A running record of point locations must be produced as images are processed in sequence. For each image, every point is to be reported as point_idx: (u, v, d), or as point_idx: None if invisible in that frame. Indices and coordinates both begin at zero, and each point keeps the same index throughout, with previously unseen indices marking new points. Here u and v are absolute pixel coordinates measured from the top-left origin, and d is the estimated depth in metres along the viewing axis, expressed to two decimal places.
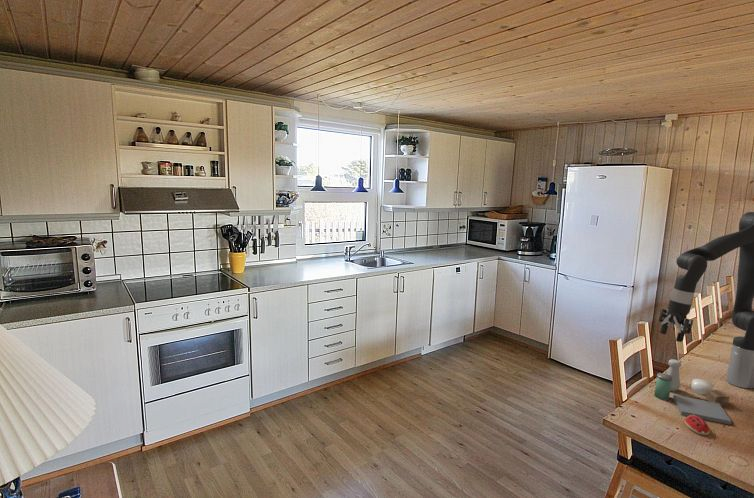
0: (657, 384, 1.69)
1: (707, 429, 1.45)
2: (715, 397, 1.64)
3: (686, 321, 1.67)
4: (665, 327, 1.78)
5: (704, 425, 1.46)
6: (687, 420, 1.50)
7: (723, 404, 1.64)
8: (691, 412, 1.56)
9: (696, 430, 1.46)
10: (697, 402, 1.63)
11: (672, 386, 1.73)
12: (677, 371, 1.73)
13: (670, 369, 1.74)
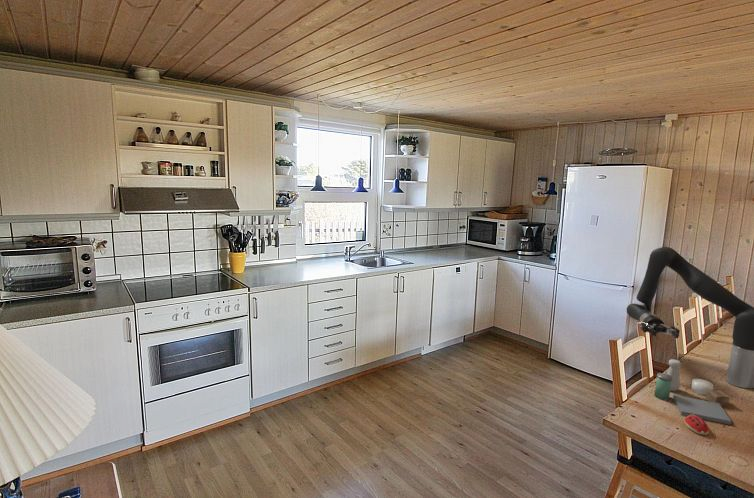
0: (657, 384, 1.69)
1: (707, 429, 1.45)
2: (715, 397, 1.64)
3: None
4: (673, 333, 1.85)
5: (704, 425, 1.46)
6: (687, 420, 1.50)
7: (723, 404, 1.64)
8: (691, 412, 1.56)
9: (695, 429, 1.46)
10: (697, 402, 1.63)
11: (672, 386, 1.73)
12: (677, 371, 1.73)
13: (670, 369, 1.74)
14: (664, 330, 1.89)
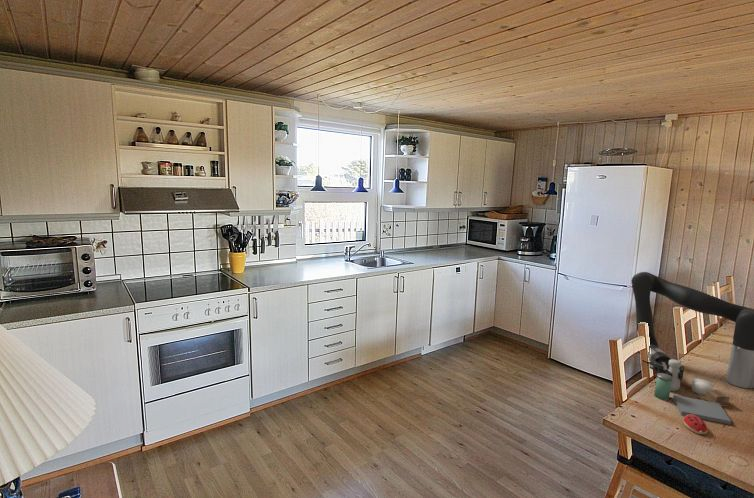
0: (657, 384, 1.69)
1: (705, 428, 1.45)
2: (715, 397, 1.64)
3: (651, 368, 1.82)
4: None
5: (702, 424, 1.46)
6: (685, 419, 1.51)
7: (723, 404, 1.64)
8: (691, 412, 1.56)
9: (693, 429, 1.46)
10: (697, 402, 1.63)
11: (672, 386, 1.73)
12: (677, 371, 1.73)
13: (670, 369, 1.74)
14: None
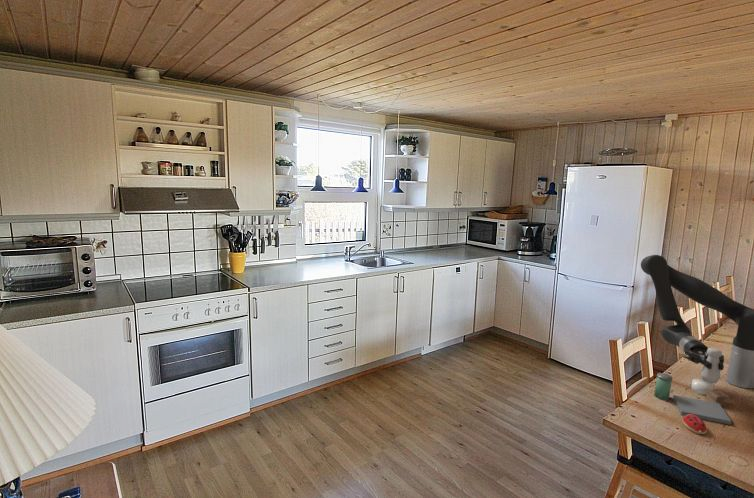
0: (657, 384, 1.69)
1: (704, 428, 1.46)
2: (715, 397, 1.64)
3: (686, 358, 1.63)
4: None
5: (701, 424, 1.46)
6: (685, 419, 1.51)
7: (723, 404, 1.64)
8: (691, 412, 1.56)
9: (693, 429, 1.46)
10: (697, 402, 1.63)
11: (711, 377, 1.55)
12: (717, 361, 1.54)
13: (709, 358, 1.55)
14: None
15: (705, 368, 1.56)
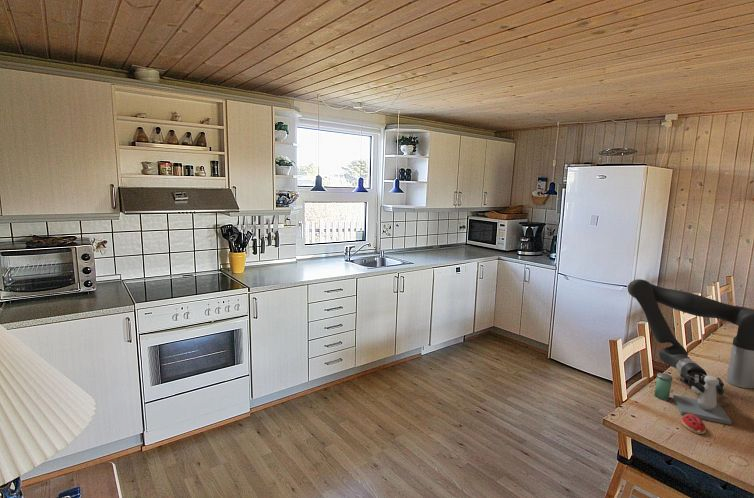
0: (657, 384, 1.69)
1: (703, 428, 1.46)
2: None
3: None
4: (716, 388, 1.57)
5: (700, 424, 1.46)
6: (684, 419, 1.51)
7: (723, 404, 1.64)
8: (691, 412, 1.56)
9: (692, 428, 1.47)
10: (697, 402, 1.63)
11: (708, 405, 1.56)
12: (714, 389, 1.56)
13: (706, 386, 1.57)
14: None
15: (702, 395, 1.58)
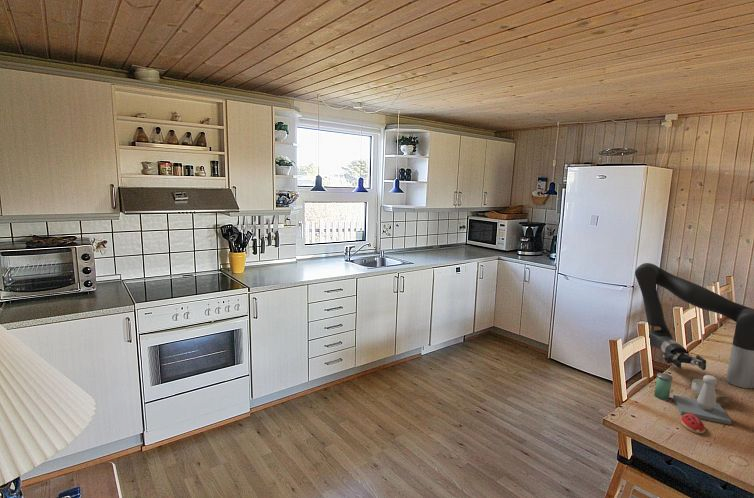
0: (657, 384, 1.69)
1: (702, 428, 1.46)
2: (716, 397, 1.64)
3: (664, 358, 1.79)
4: (699, 364, 1.70)
5: (699, 424, 1.46)
6: (683, 418, 1.51)
7: (723, 404, 1.64)
8: (691, 412, 1.56)
9: (691, 428, 1.47)
10: (697, 402, 1.63)
11: (707, 405, 1.56)
12: (713, 388, 1.56)
13: (705, 386, 1.57)
14: (689, 360, 1.74)
15: (701, 395, 1.58)
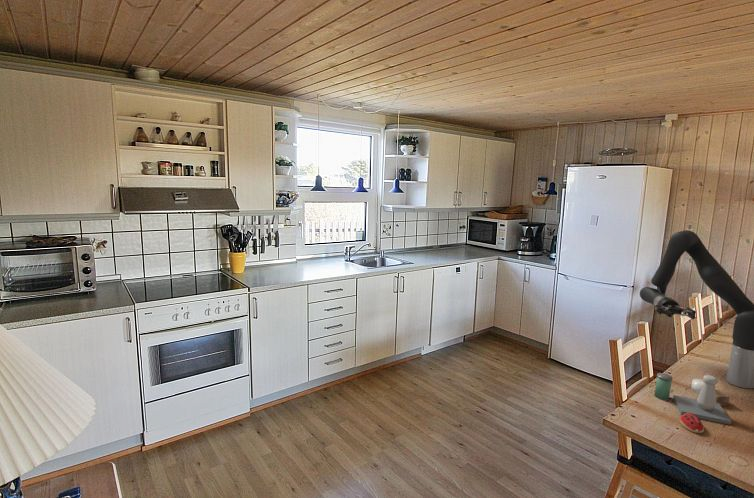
0: (657, 384, 1.69)
1: (701, 427, 1.46)
2: (716, 397, 1.64)
3: (656, 310, 1.89)
4: (689, 314, 1.80)
5: (698, 423, 1.47)
6: (682, 418, 1.51)
7: (723, 404, 1.64)
8: (691, 412, 1.56)
9: (690, 428, 1.47)
10: (697, 402, 1.63)
11: (707, 405, 1.56)
12: (713, 388, 1.56)
13: (705, 386, 1.57)
14: (680, 311, 1.84)
15: (701, 395, 1.58)
